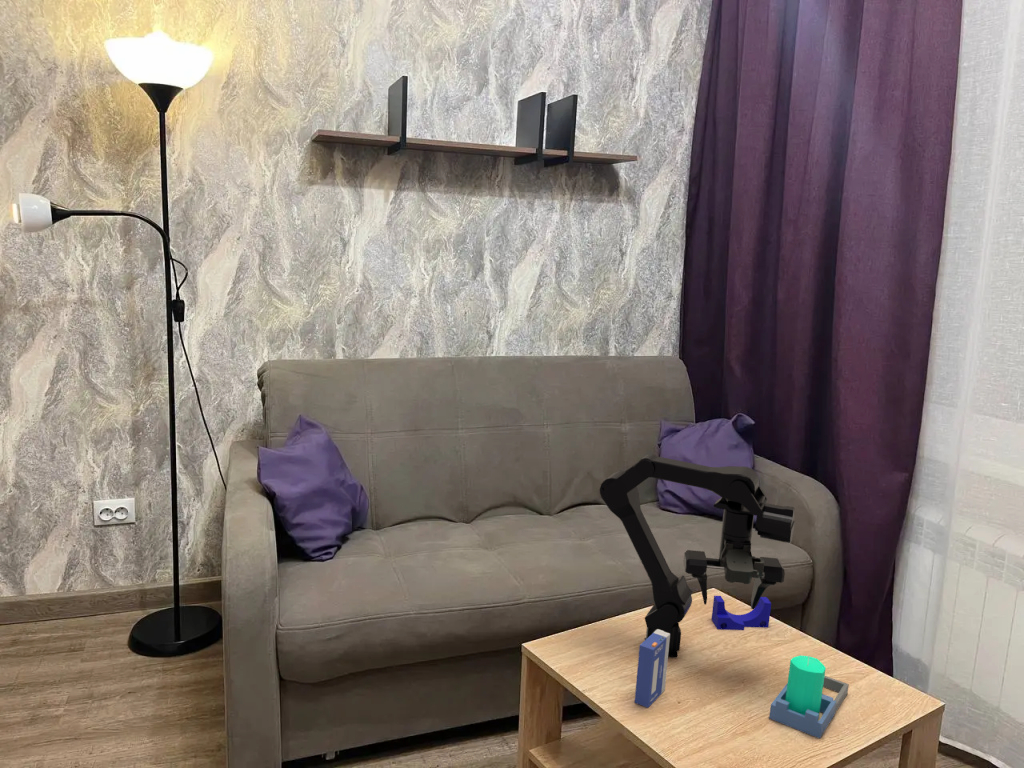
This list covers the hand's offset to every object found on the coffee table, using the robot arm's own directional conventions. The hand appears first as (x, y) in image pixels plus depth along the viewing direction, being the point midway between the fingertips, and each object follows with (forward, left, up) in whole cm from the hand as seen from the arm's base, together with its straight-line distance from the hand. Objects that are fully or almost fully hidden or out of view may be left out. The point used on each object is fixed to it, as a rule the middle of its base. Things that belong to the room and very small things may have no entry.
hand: (728, 606), depth 162 cm
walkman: (-15, -14, -13) cm, 24 cm away
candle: (+12, -15, -13) cm, 23 cm away
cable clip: (+6, +19, -13) cm, 24 cm away
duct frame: (+15, -11, -13) cm, 22 cm away
